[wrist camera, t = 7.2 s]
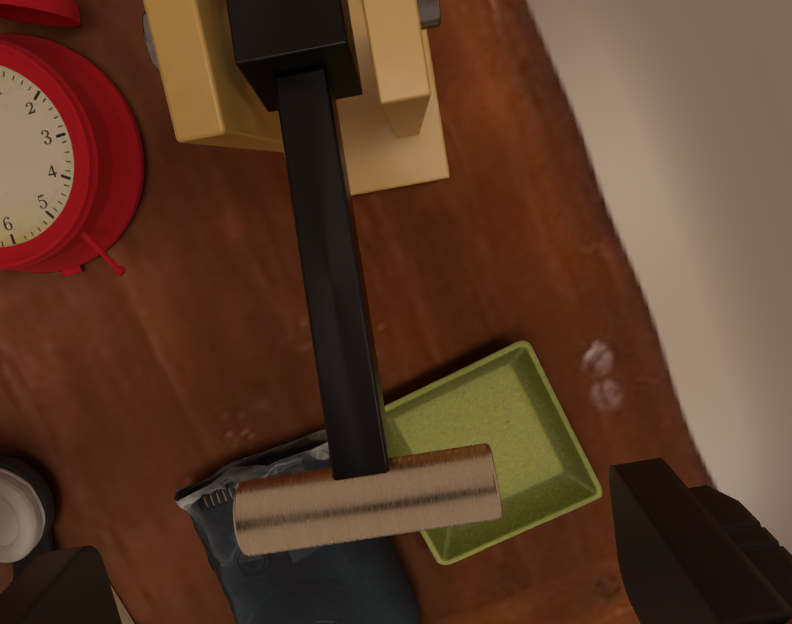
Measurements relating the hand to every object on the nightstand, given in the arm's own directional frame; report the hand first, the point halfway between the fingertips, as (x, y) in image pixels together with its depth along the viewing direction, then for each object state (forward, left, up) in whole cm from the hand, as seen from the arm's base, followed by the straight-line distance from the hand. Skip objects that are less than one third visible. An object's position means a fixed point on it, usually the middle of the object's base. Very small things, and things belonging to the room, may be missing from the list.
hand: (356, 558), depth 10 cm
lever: (-4, 0, -5) cm, 7 cm away
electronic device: (+14, -7, -22) cm, 27 cm away
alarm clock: (-11, -15, -22) cm, 29 cm away
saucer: (+8, +3, -22) cm, 24 cm away
